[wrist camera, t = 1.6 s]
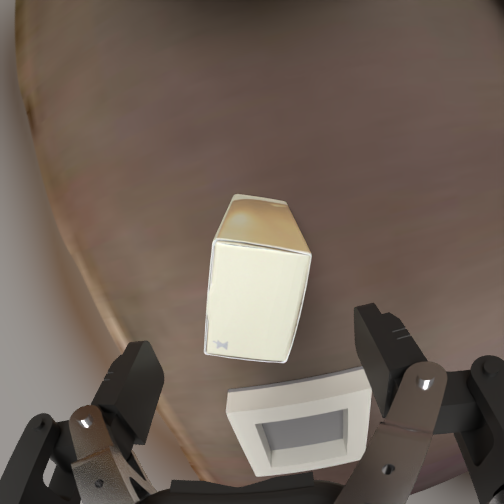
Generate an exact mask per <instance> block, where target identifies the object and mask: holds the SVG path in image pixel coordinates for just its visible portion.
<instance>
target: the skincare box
mask: <svg viewBox="0 0 504 504" xmlns="http://www.w3.org/2000/svg"><path fill="white" fill-rule="evenodd" d="M311 258H312V254H311V252H310V250H309V248H308V246H307V244H306V242H305V240H304V238H303V235H302V233H301V232H300V230H299V228H298V225H297V223H296V221H295V219H294V217H293V215H292V213H291V211H290V209H289V207H288V205H287V203H286V202H285V201H280V200H274V199H268V198H263V197H256V196H249V195H241V194H235V195H234V196H233V198H232V200H231V202H230V205H229V207H228V209H227V211H226V213H225V215H224V218H223V220H222V222H221V224H220V227H219V229H218V231H217V233H216V235H215V238H214V240H213V243H212V252H211V261H210V272H209V282H208V294H207V308H206V325H205V343H204V353H205V354H207V355H212V356H220V357H227V358H234V359H242V360H250V361H260V362H277V363H285V362H286V361H287V360H288V357H289V354H290V351H291V348H292V345H293V341H294V338H295V335H296V331H297V327H298V323H299V319H300V314H301V310H302V306H303V301H304V296H305V292H306V287H307V281H308V276H309V270H310V264H311Z"/></svg>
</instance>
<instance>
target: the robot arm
mask: <svg viewBox="0 0 504 504" xmlns="http://www.w3.org/2000/svg"><path fill="white" fill-rule="evenodd" d="M354 330H355V346H356V351H357V354H358V357H359V359H360V361H361V364H362V366H363V369H364V371H365V374H366V376H367V379H368V381H369V384H370V386H371V389H372V391H373V394H374V396H375V399H376V401H377V404H378V407H379V409H380V412H381V414H382V417H383V418H385V417H386V418H385V420H384V422H381V423H380V424H379V426H378V427H377V429H376V431H375V433H374V435H373V437H372V439H371V441H370V443H369V445H368V447H367V448H366V450H365V452H364V454H363V456H362V458H361V459H360V461H359V463H358V465H357V466H356V468H355V470H354V472H353V473H352V475H351V477H350V478H349V480H348V481H347V483H346V485H345V486H344V485H342V484H339V483H335V482H330V481H323V480H314V478H313V472H308V473H302V474H295V475H288V476H280V477H274V478H271V479H268V480H265V481H262V482H258V483H255V484H251V485H248V486H244V487H238V488H237V487H231V486H225V485H220V484H216V483H211V482H206V481H185V480H172V482H171V487H170V489H166V490H162V491H159V492H157V491H156V490H155V488H154V487H153V486H152V484H151V482H150V481H149V479H148V477H147V475H146V474H145V472H144V470H143V468H142V466H141V464H140V463H139V461H138V459H137V457H136V455H135V453H134V452H133V450H132V447H133V444H139V445H145V443H146V439H147V436H148V433H149V429H150V426H151V422H152V419H153V416H154V413H155V409H156V406H157V403H158V400H159V397H160V393H161V390H162V387H163V384H164V373H163V369H162V367H161V365H160V363H159V361H158V359H157V357H156V355H155V353H154V351H153V349H152V346H151V344H150V343H149V342H148V341H138V342H130V343H129V344H128V345H127V347H126V349H125V351H124V353H123V355H120V356H119V357H118V358H117V359H116V360H115V361H114V362H113V363H112V364H111V366H110V368H109V370H108V374H106V376H105V378H104V381H102V383H101V385H100V387H99V389H98V391H97V393H96V395H95V397H94V399H93V401H92V403H91V405H85V406H82V407H80V408H78V409H77V410H75V411H74V412H73V414H72V415H71V417H70V419H69V420H67V421H62V422H55V421H54V420H53V418H52V417H51V416H50V415H49V414H46V413H42V414H39V415H36V416H35V417H33V418H32V419H31V420H30V421H29V423H28V424H27V426H26V428H25V430H24V432H23V434H22V436H21V438H20V440H19V441H18V444H17V445H16V448H15V450H14V452H13V454H12V456H11V458H10V460H9V462H8V464H7V466H6V469H5V471H4V473H3V475H2V477H1V480H0V504H80V501H81V500H82V503H83V504H405V503H406V501H407V499H408V497H409V495H410V493H411V491H412V488H413V486H414V484H415V481H416V479H417V477H418V474H419V472H420V469H421V467H422V464H423V462H424V459H425V456H426V454H427V451H428V448H429V445H430V442H431V439H432V436H433V435H435V434H445V433H454V436H455V438H456V441H457V443H458V445H459V448H460V450H461V453H462V455H463V458H464V460H465V463H466V466H467V468H468V471H469V474H470V476H471V479H472V482H473V484H474V488H475V490H476V493H477V496H478V499H479V502H480V504H504V361H503V360H502V359H501V358H499V357H496V356H491V355H486V356H482V357H479V358H478V359H476V360H475V361H474V362H473V364H472V366H471V369H470V370H465V371H455V372H446V371H445V369H444V368H443V367H441V366H440V365H438V364H436V363H434V362H428V361H427V359H426V358H425V356H424V354H423V353H422V351H421V350H420V348H419V347H418V345H417V344H416V342H415V341H414V339H413V338H412V336H410V333H409V332H408V330H407V329H405V326H404V325H403V323H402V322H401V320H400V319H399V318H397V317H396V316H394V315H393V314H391V313H385V314H381V313H380V311H379V309H378V308H377V306H376V305H375V304H374V303H370V304H366V305H362V306H358V307H355V308H354ZM49 458H50V459H51V460H52V461H53V462H54V463H55V464H56V468H55V471H54V473H53V476H52V479H51V481H50V484H49V487H47V486H46V485H45V484H44V482H43V473H44V470H45V468H46V465H47V463H48V461H49Z"/></svg>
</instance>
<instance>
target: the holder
mask: <svg viewBox="0 0 504 504" xmlns="http://www.w3.org/2000/svg"><path fill="white" fill-rule="evenodd" d="M371 393H372V389H371V386H370V384H369V381H368V379H367V376H366V374H365V371H364V369H363V366H360V367H356V368H352V369H347V370H343V371H339V372H334V373H329V374H325V375H320V376H315V377H309V378H304V379H299V380H293V381H287V382H281V383H274V384H268V385H261V386H253V387H245V388H237V389H228V397H227V406H226V414H227V416H228V419H229V421H230V423H231V425H232V427H233V430H234V432H235V434H236V436H237V438H238V440H239V442H240V444H241V447H242V449H243V451H244V453H245V455H246V457H247V459H248V461H249V463H250V465H251V467H252V469H253V471H254V473H255V475H256V477H259V476H270V475H279V474H288V473H295V472H302V471H308V470H314V469H320V468H325V467H330V466H335V465H340V464H345V463H349V462H353V461H357V460H360V459H361V458H362V456H363V454H364V452H365V449H366V442H367V434H368V425H369V416H370V405H371Z"/></svg>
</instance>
